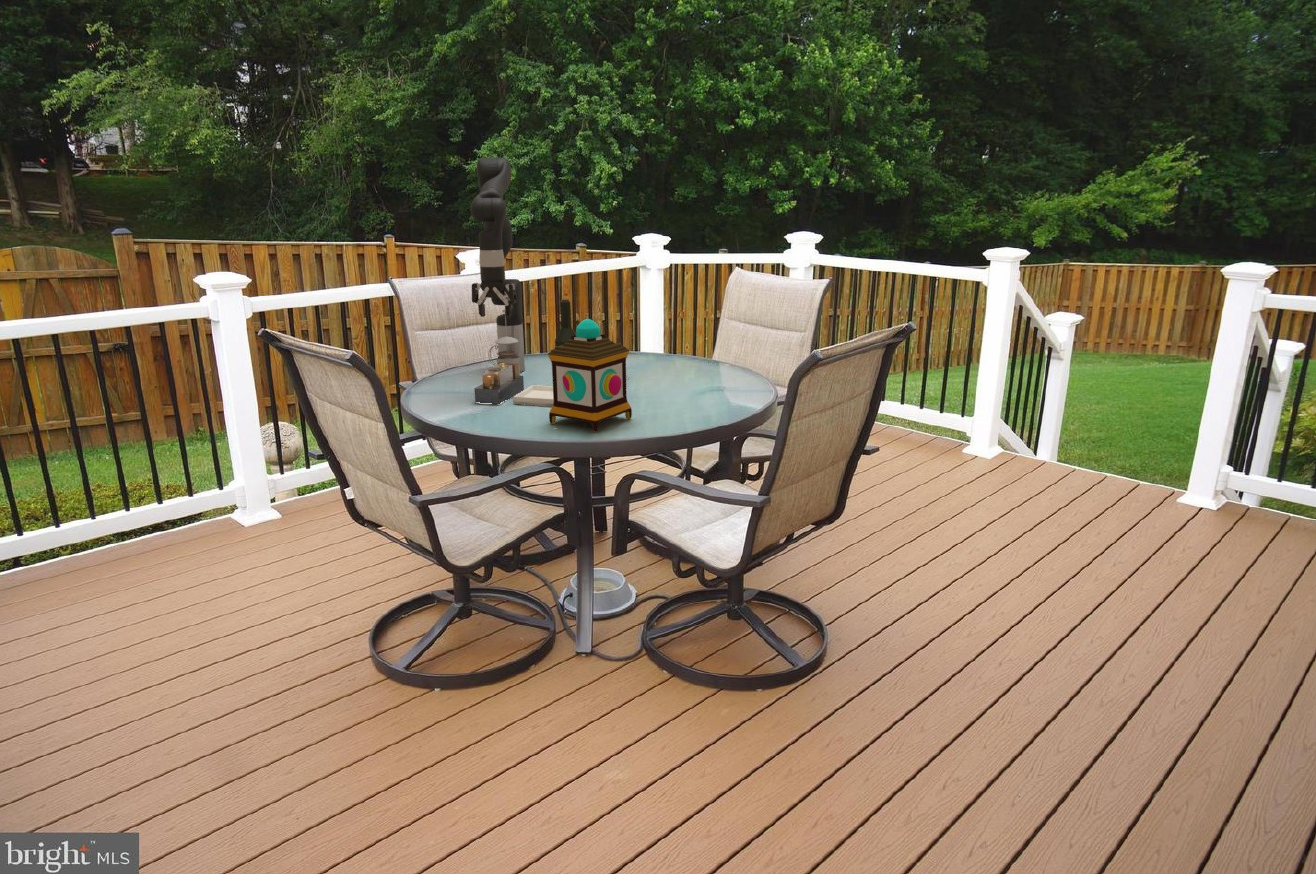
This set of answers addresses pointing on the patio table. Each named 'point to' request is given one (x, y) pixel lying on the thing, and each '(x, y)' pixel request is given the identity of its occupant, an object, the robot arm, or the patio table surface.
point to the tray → (535, 396)
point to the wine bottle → (565, 324)
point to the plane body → (499, 388)
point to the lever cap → (501, 373)
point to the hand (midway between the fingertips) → (495, 316)
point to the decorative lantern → (589, 377)
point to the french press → (507, 353)
